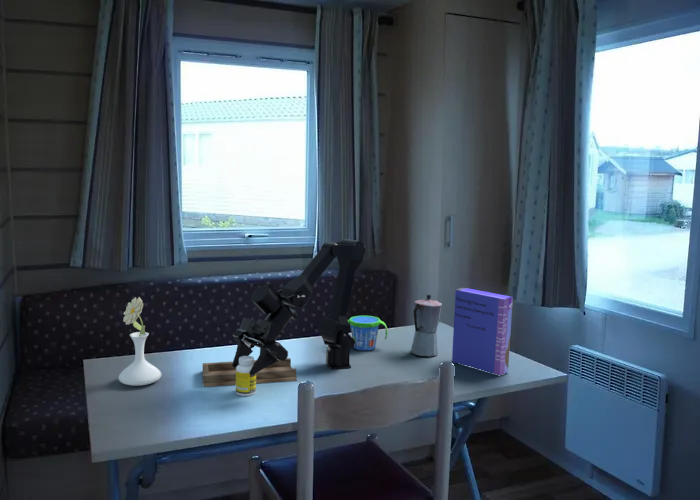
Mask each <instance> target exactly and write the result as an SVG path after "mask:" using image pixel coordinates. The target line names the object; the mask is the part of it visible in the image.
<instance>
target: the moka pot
mask: <svg viewBox="0 0 700 500" xmlns="http://www.w3.org/2000/svg"><path fill="white" fill-rule="evenodd" d="M431 298H432V294H426V299H418V300H414V303H413V304H414V305H413V306H414V309H413V317H414V318H413V320H414V328H415V329H414V330H415V331H414V335H413V339H412V344H411V349H410V353H412V354H413V355H415V356H419V357H436V356H438V354H439V351H438V334H437V331H438V327H439V323H440V316H441V312H442V311H441V310H442V306H443V303H441V302H439V300H433V299H431Z"/></svg>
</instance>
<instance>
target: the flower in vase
mask: <svg viewBox="0 0 700 500" xmlns="http://www.w3.org/2000/svg"><path fill="white" fill-rule="evenodd" d="M143 307H144V303H143V300H142V298H141V297H140V296H138V298H137V297H134V298H133V299H131V302H128V303H127V306H126V307H125V308H126V309H125V311H124V312H123V315H124V316H123V320H122V321H123V322H124V323H125V325H126V326H127V325H128V326H129V325H130V324H132V326H133V327H134V328H135V329H136V330H139V331H136V332H132V333H130V334H129V337H130V338H131V340H132V342H133V344H134V350H135V354H134V355H135V357H134V360H133V362H132V363H130V364H129V365H128V366H126V368H124V369H123V370H122V371H121V373H119V376H118V380H119V382H120V383H121V384H123V385H128V386H133V387H134V386H135V387H136V386H137V387H138V386H145V385H150V384H153V383H155V382H158V381H159V380H160V378H162V372H161V370H160V369H158V368H157V367H156V365H153V364H151V363H150V362H149V361H147V360H146V357H145V353H144V352H145V343H146V340H147V338H148V336H149V334H150V333H149V332H146V330H145V328H146V325H144V322H143V320H142V317H141V313H142V310H143ZM138 318H139V320H140V323H141V324H140V323H138V321H137V320H138Z"/></svg>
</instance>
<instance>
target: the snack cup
mask: <svg viewBox="0 0 700 500" xmlns="http://www.w3.org/2000/svg"><path fill="white" fill-rule="evenodd" d="M347 320H348V323H349V329H350V331H351V337H352V338H353V339H354V340H355V344H354V349H356V350H358V351H371V350H374V349H375V348H376V345H377V339H378V334H379V326H380V325H382V326H384V328H385V338H384V340H387V338H388V332H389V331H388V330H389V329H388V327H387V324H386V323H385V322H384V321H382V320H381V319H380V318H379V317H378V316H373V315H356V316H355V315H354V316H351V317H350V318H349V319H347Z"/></svg>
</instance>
